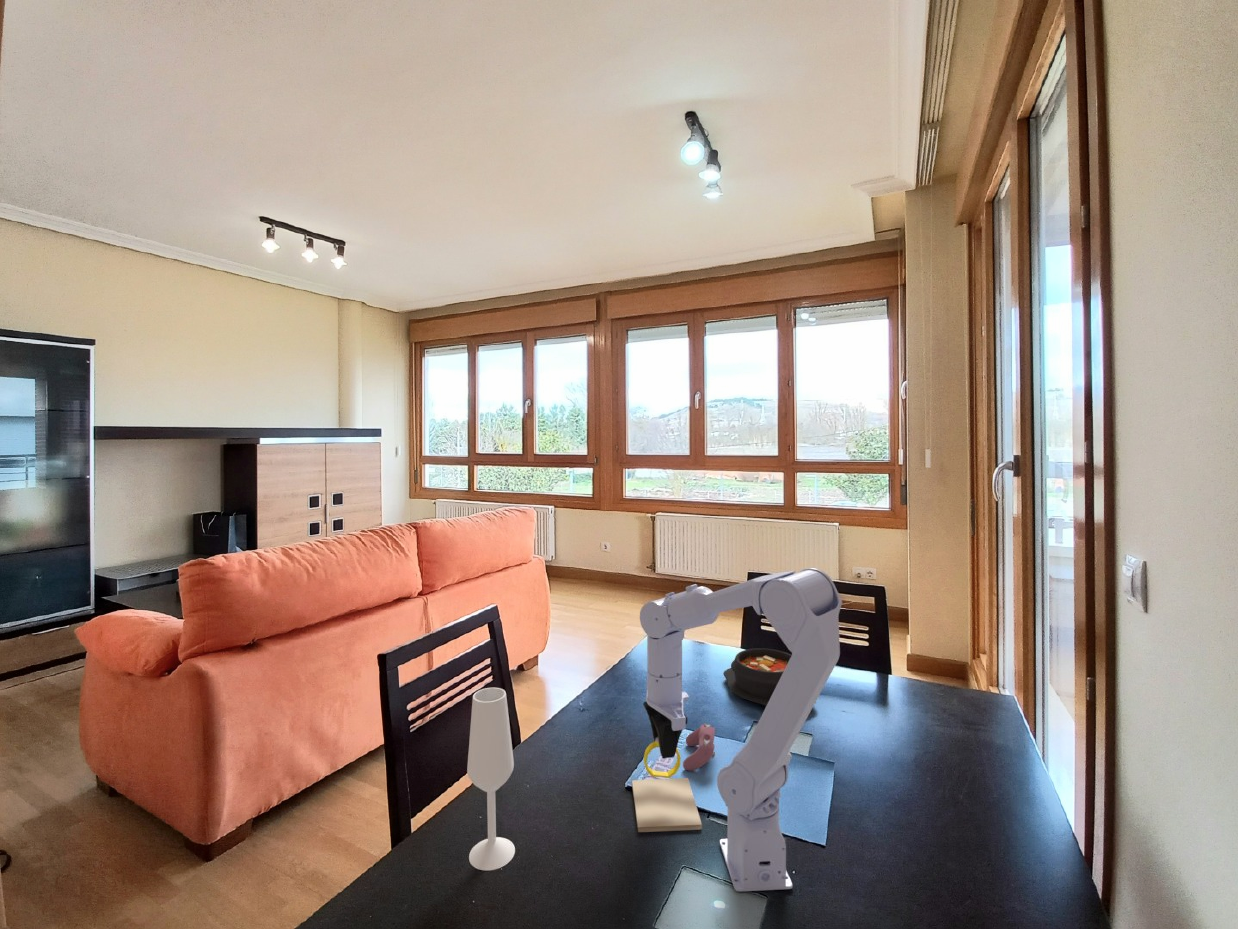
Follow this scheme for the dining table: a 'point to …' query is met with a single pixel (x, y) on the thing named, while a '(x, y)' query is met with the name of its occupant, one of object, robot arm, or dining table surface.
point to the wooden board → (665, 805)
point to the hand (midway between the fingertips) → (664, 751)
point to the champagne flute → (490, 770)
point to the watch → (660, 773)
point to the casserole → (756, 673)
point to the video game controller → (700, 747)
